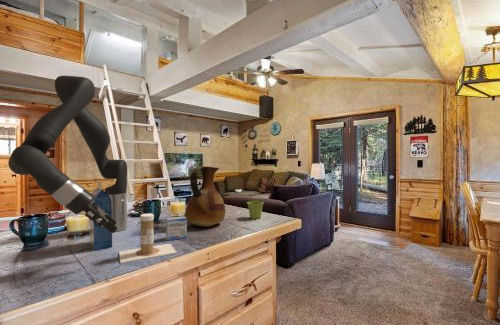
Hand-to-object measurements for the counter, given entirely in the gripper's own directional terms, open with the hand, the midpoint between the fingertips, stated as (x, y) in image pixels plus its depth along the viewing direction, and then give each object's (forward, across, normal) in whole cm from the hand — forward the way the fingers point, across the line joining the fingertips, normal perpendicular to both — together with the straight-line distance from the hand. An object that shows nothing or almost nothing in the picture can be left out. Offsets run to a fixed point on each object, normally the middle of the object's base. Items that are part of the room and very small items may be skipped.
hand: (115, 227), depth 89 cm
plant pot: (+57, +27, -42) cm, 76 cm away
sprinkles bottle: (+14, 0, 0) cm, 14 cm away
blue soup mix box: (+4, +19, +11) cm, 22 cm away
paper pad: (+15, 0, 0) cm, 15 cm away
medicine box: (+24, +12, -9) cm, 29 cm away
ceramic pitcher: (+37, +27, -22) cm, 51 cm away
